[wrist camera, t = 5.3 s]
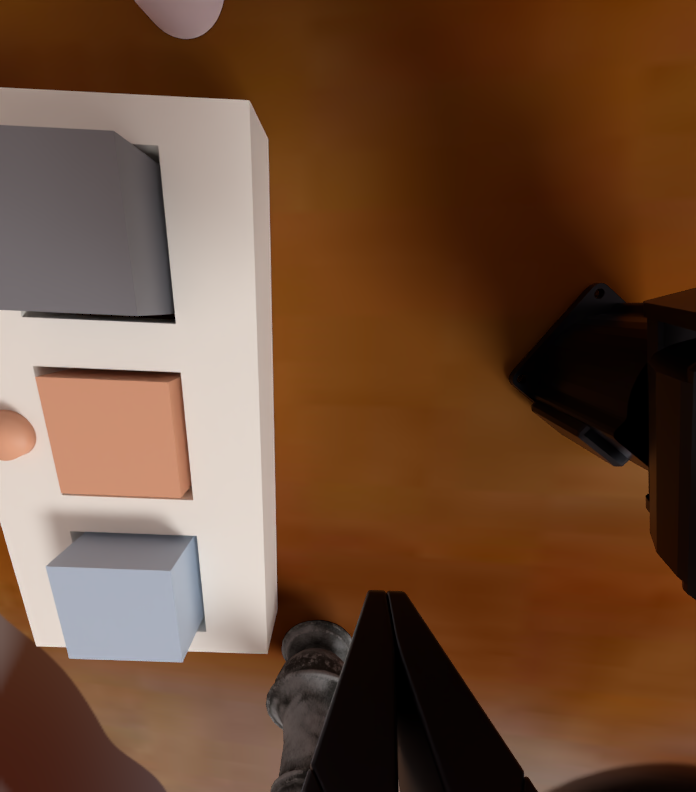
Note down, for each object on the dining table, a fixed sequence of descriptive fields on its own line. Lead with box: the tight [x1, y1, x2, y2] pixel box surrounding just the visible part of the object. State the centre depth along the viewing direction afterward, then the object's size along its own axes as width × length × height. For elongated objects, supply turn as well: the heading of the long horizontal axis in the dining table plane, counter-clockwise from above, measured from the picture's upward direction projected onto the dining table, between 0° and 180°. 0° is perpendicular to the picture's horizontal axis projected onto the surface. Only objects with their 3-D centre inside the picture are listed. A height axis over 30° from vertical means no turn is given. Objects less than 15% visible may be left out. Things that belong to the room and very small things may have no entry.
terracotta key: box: [35, 368, 192, 498], centre depth 17 cm, size 6×6×3 cm
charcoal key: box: [0, 125, 175, 316], centre depth 13 cm, size 6×6×3 cm
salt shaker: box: [266, 620, 352, 792], centre depth 18 cm, size 6×6×12 cm
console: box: [0, 87, 278, 654], centre depth 17 cm, size 28×14×4 cm, turn 177°
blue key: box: [46, 532, 205, 662], centre depth 18 cm, size 6×6×3 cm
